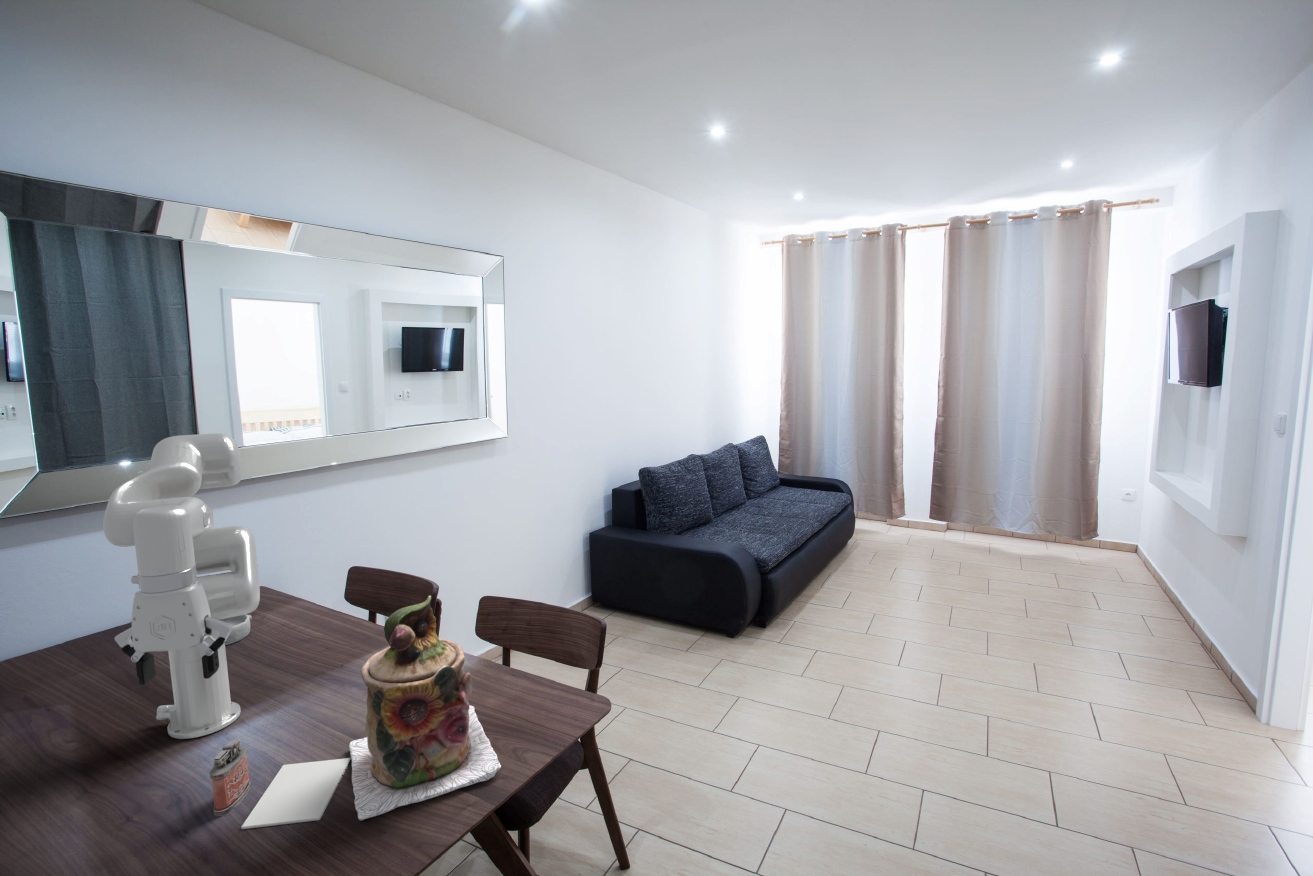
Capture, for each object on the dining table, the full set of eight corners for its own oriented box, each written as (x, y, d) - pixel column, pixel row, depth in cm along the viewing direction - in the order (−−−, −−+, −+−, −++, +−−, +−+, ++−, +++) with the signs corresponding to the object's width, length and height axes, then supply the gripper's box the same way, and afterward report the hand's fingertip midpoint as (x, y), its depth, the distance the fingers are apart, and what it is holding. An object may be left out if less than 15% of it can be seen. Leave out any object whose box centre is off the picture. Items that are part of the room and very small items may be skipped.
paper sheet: (241, 829, 102) (241, 827, 102) (283, 767, 118) (283, 765, 118) (319, 820, 104) (319, 817, 104) (350, 759, 120) (350, 757, 120)
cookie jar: (347, 748, 124) (334, 593, 120) (473, 712, 136) (465, 570, 131) (357, 829, 102) (342, 643, 98) (505, 778, 114) (497, 610, 110)
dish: (230, 650, 167) (228, 632, 166) (179, 650, 167) (177, 632, 167) (264, 627, 181) (263, 610, 181) (217, 627, 182) (215, 610, 181)
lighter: (236, 784, 113) (230, 733, 112) (255, 783, 113) (250, 732, 112) (208, 816, 105) (202, 761, 104) (229, 815, 105) (223, 760, 104)
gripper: (93, 592, 99) (106, 694, 101) (213, 583, 102) (224, 683, 104) (125, 576, 106) (137, 672, 108) (236, 569, 109) (246, 662, 111)
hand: (179, 677), depth 106 cm, fingers open, 9 cm apart
